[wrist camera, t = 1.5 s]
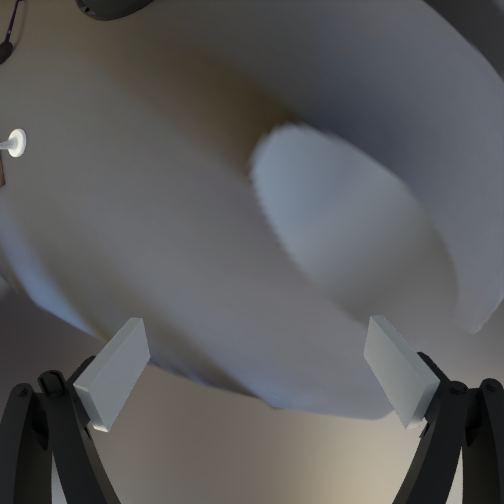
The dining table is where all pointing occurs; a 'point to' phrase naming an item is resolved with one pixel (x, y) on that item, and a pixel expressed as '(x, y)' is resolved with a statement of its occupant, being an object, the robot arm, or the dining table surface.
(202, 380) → the dining table surface
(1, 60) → the sunglasses
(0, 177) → the socket plate
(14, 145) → the chess piece
